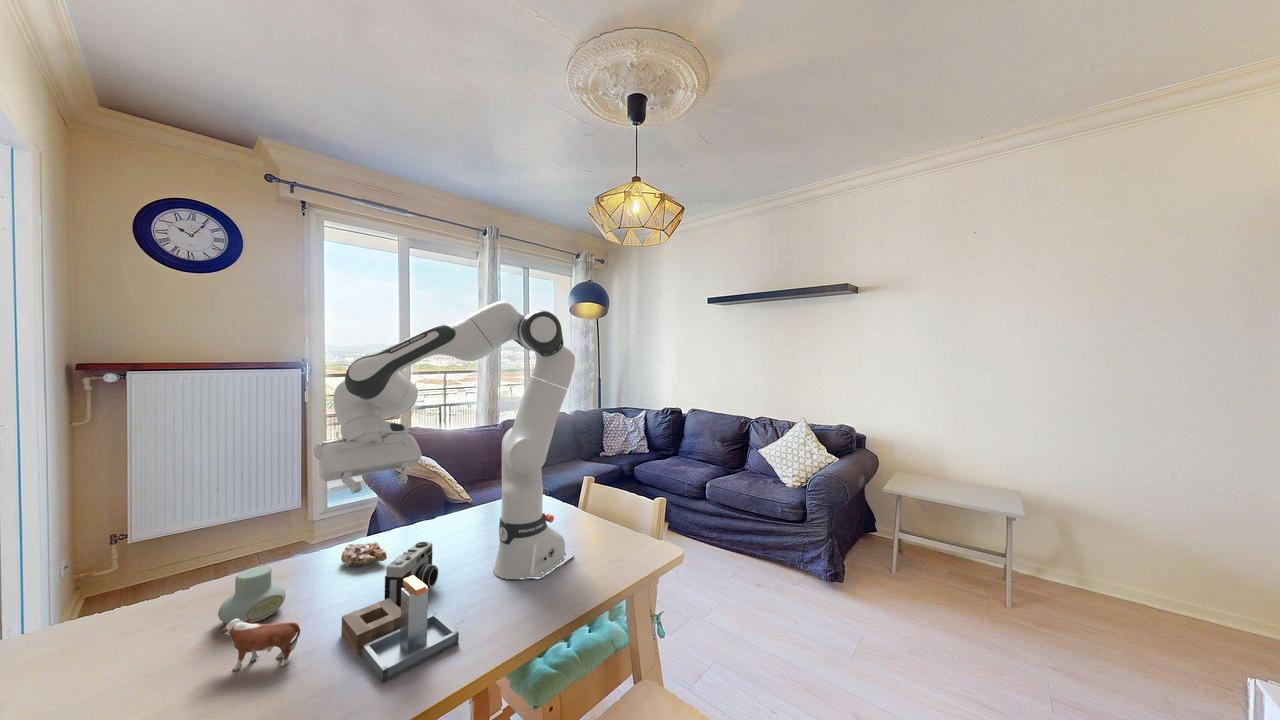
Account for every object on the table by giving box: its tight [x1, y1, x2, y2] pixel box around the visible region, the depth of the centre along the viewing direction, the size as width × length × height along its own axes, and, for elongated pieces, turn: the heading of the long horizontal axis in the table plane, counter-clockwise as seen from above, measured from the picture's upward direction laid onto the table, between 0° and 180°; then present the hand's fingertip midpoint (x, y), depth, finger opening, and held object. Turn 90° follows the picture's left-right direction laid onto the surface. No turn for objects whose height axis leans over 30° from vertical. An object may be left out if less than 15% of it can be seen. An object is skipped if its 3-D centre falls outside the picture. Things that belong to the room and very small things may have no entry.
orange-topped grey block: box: [400, 575, 429, 655], centre depth 84 cm, size 4×6×13 cm, turn 51°
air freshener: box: [217, 565, 286, 625], centre depth 93 cm, size 11×8×10 cm
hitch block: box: [340, 598, 401, 656], centre depth 88 cm, size 9×9×4 cm
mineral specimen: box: [340, 541, 388, 568], centre depth 118 cm, size 12×8×7 cm
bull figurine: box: [220, 618, 301, 672], centre depth 79 cm, size 4×13×8 cm, turn 95°
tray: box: [361, 612, 460, 685], centre depth 84 cm, size 14×10×2 cm
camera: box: [384, 541, 439, 608], centre depth 104 cm, size 14×9×10 cm, turn 169°
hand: (381, 486), depth 94 cm, fingers open, 8 cm apart
